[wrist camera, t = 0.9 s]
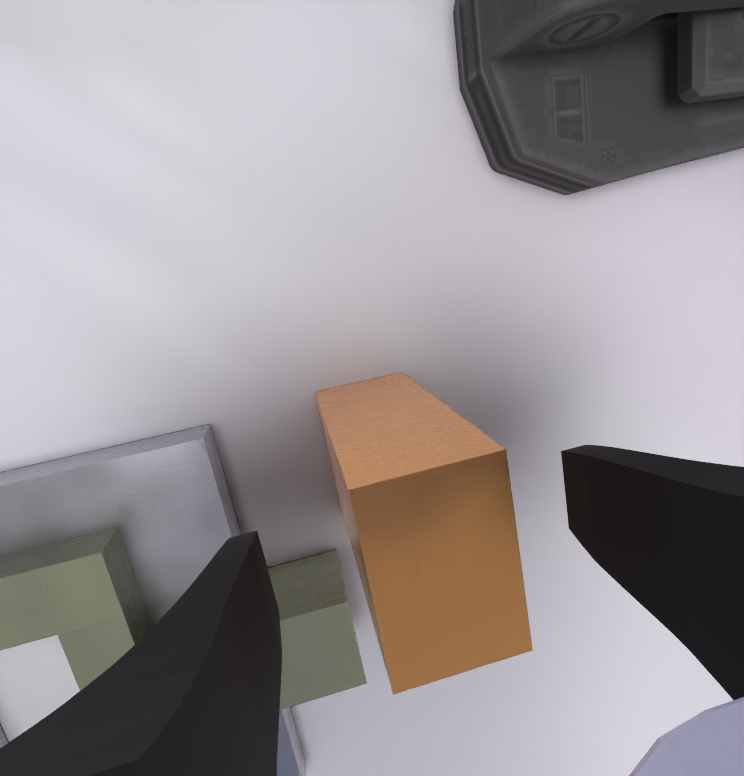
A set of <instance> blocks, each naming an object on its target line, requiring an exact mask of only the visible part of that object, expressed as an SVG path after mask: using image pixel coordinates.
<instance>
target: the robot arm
mask: <svg viewBox="0 0 744 776" xmlns="http://www.w3.org/2000/svg"><path fill="white" fill-rule="evenodd" d="M561 454H562V464H563V473H564V483H565V493H566V503H567V513H568V523H569V529H570V530H571V531H572V533H573V534H574V535H575V537H576V538H577V539H578V540H579V542H580V543H581V544H582V546H583V547H584V548H585V549H586V550H587V552H588V553H589V554H590V555H591V556H592V558H593V559H594V560H595V561H596V562H597V563H598V564H599V565H600V566H601V567H602V568H603V569H604V570H605V571H606V572H607V573H608V574H609V575H610V576H611V577H613V578H614V579H615V580H616V581H617V582H618V583H619V584H620V585H621V586H622V587H623V588H624V589H625V590H626V591H627V592H629V593H630V594H631V595H632V596H633V597H634V598H635V599H636V600H637V601H638V602H639V603H640V604H642V605H643V606H644V607H645V608H646V609H647V610H648V611H649V612H650V613H651V614H652V615H653V616H655V617H656V618H657V619H658V620H659V621H660V622H661V623H662V624H663V625H664V626H665V627H666V628H667V629H669V630H670V631H671V632H672V633H673V634H674V635H675V636H676V637H677V638H678V639H679V640H680V641H681V642H682V643H683V644H684V645H685V646H686V647H687V648H688V649H689V650H690V651H691V652H692V654H693V655H694V656H695V657H696V658H697V659H698V660H699V661H700V663H701V664H702V665H703V666H704V667H705V668H706V669H707V670H708V672H709V673H710V674H711V675H712V676H713V677H714V678H715V679H716V680H717V682H718V683H719V684H720V685H721V686H722V687H723V688H724V689H725V691H726V692H727V693H728V694H729V695H730V696H731V698H732V699H733V700H734V701H731V702H728V703H725V704H722V705H719V706H716V707H713V708H711V709H708V710H705V711H703V712H701V713H700V714H698V715H696V716H695V717H693V718H691V719H690V720H688V721H686V722H685V723H683V724H681V725H679V726H678V727H676V728H674V729H673V730H671V731H669V732H668V733H666V734H664V735H663V736H661V737H659V738H658V739H657V740H656V741H655V743H654V744H653V745H652V747H651V748H650V749H649V751H648V752H647V753H646V754H645V756H644V757H643V758H642V760H641V761H640V762H639V763H638V765H637V766H636V767H635V769H634V770H633V771H632V773H631V774H630V775H629V776H744V467H738V466H729V465H722V464H714V463H707V462H699V461H693V460H686V459H680V458H674V457H667V456H662V455H656V454H650V453H644V452H638V451H632V450H626V449H620V448H613V447H606V446H596V445H583V446H580V447H576V448H572V449H568V450H564V451H561ZM281 671H282V642H281V629H280V617H279V609H278V605H277V602H276V598H275V594H274V591H273V587H272V583H271V580H270V576H269V572H268V569H267V565H266V561H265V558H264V554H263V551H262V547H261V543H260V540H259V536H258V532H257V531H254V532H250V533H246V534H243V535H239V536H235V537H231V538H229V539H228V540H227V541H226V542H225V543H224V544H223V545H222V547H221V548H220V549H219V550H218V552H217V553H216V554H215V556H214V557H213V558H212V559H211V561H210V562H209V563H208V564H207V566H206V567H205V568H204V569H203V571H202V572H201V573H200V574H199V576H198V577H197V578H196V579H195V581H194V582H193V583H192V584H191V586H190V587H189V588H188V589H187V590H186V592H185V593H184V594H183V595H182V596H181V597H180V598H179V599H178V600H177V602H176V603H175V604H174V605H173V606H172V607H171V608H170V609H169V610H168V612H167V613H166V614H165V615H164V616H163V617H162V618H161V619H160V620H159V622H158V623H157V624H156V625H155V626H154V627H153V628H152V629H151V630H150V631H149V632H148V633H147V634H146V635H145V636H144V637H143V638H142V639H141V640H140V641H138V642H137V643H136V644H135V645H134V646H133V647H132V648H131V649H130V650H129V651H128V652H126V653H125V654H124V655H123V656H122V657H121V658H120V659H119V660H118V661H117V662H115V663H114V664H113V665H112V666H111V667H110V668H108V669H107V670H106V671H105V672H103V673H102V674H101V675H100V676H98V677H97V678H96V679H95V680H93V681H92V682H91V683H90V684H88V685H87V686H86V687H85V688H83V689H82V690H81V691H80V692H78V693H77V694H76V695H75V696H73V697H72V698H71V699H70V700H68V701H67V702H66V703H65V704H63V705H62V706H60V707H59V708H58V709H56V710H55V711H54V712H52V713H51V714H49V715H48V716H47V717H45V718H44V719H42V720H41V721H40V722H38V723H37V724H35V725H34V726H33V727H31V728H30V729H28V730H27V731H25V732H24V733H22V734H21V735H19V736H18V737H16V738H15V739H13V740H12V741H10V742H9V743H7V744H6V745H4V746H3V747H2V748H0V776H277V750H278V731H279V711H280V692H281Z"/></svg>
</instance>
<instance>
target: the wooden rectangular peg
mask: <svg viewBox="0 0 744 776" xmlns="http://www.w3.org/2000/svg"><path fill="white" fill-rule="evenodd" d="M315 393H316V398H317V402H318V407H319V411H320V416H321V420H322V425H323V429H324V433H325V438H326V442H327V447H328V451H329V456H330V460H331V465H332V469H333V473H334V478H335V482H336V487H337V491H338V496H339V500H340V504H341V509H342V513H343V517H344V521H345V524H346V528H347V531H348V535H349V538H350V542H351V546H352V549H353V553H354V556H355V560H356V563H357V567H358V570H359V574H360V578H361V581H362V585H363V588H364V592H365V595H366V599H367V602H368V606H369V610H370V613H371V617H372V620H373V624H374V627H375V631H376V635H377V638H378V642H379V645H380V649H381V652H382V656H383V659H384V663H385V667H386V670H387V674H388V677H389V681H390V684H391V688H392V691H393V694H396V693H399V692H402V691H405V690H408V689H412V688H415V687H418V686H421V685H424V684H427V683H431V682H434V681H437V680H440V679H443V678H446V677H449V676H453V675H456V674H459V673H462V672H465V671H468V670H472V669H475V668H478V667H481V666H484V665H487V664H490V663H494V662H497V661H500V660H503V659H506V658H509V657H512V656H516V655H519V654H522V653H525V652H528V651H531V650H532V642H531V635H530V627H529V620H528V612H527V605H526V597H525V590H524V582H523V574H522V567H521V559H520V552H519V544H518V537H517V529H516V522H515V514H514V507H513V499H512V492H511V484H510V477H509V469H508V462H507V454H506V449H505V448H503V447H502V446H501V445H499V444H498V443H497V442H495V441H494V440H493V439H491V438H490V437H489V436H487V435H486V434H485V433H483V432H482V431H481V430H479V429H478V428H477V427H475V426H474V425H473V424H471V423H470V422H469V421H467V420H466V419H465V418H463V417H462V416H461V415H459V414H458V413H457V412H455V411H454V410H453V409H451V408H450V407H449V406H447V405H446V404H445V403H443V402H442V401H441V400H439V399H438V398H437V397H435V396H434V395H432V394H431V393H430V392H428V391H427V390H426V389H424V388H423V387H422V386H420V385H419V384H418V383H416V382H415V381H414V380H412V379H411V378H410V377H408V376H407V375H406V374H404V373H403V372H400V373H396V374H392V375H387V376H383V377H379V378H374V379H370V380H366V381H361V382H357V383H352V384H348V385H344V386H339V387H335V388H331V389H326V390H322V391H318V392H315Z"/></svg>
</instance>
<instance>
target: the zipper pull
mask: <svg viewBox="0 0 744 776" xmlns="http://www.w3.org/2000/svg"><path fill="white" fill-rule="evenodd" d="M454 22H455V33H456V44H457V55H458V67H459V78H460V89H461V92H462V95H463V97H464V100H465V102H466V105H467V107H468V110H469V112H470V115H471V117H472V120H473V123H474V125H475V128H476V130H477V133H478V135H479V138H480V140H481V143H482V145H483V148H484V150H485V153H486V155H487V158H488V160H489V163H490V165H491V167H492V169H493V170H495V171H496V172H499V173H502V174H505V175H508V176H510V177H513V178H516V179H519V180H522V181H525V182H528V183H531V184H534V185H537V186H540V187H543V188H546V189H549V190H552V191H555V192H558V193H561V194H563V195H568V194H572V193H576V192H579V191H583V190H586V189H590V188H594V187H597V186H601V185H604V184H608V183H611V182H615V181H618V180H622V179H625V178H629V177H633V176H636V175H640V174H643V173H647V172H651V171H654V170H658V169H662V168H666V167H670V166H674V165H678V164H682V163H685V162H689V161H693V160H697V159H701V158H705V157H709V156H713V155H717V154H720V153H724V152H728V151H732V150H736V149H740V148H744V0H456V2H455V7H454Z"/></svg>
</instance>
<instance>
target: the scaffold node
mask: <svg viewBox="0 0 744 776" xmlns="http://www.w3.org/2000/svg"><path fill="white" fill-rule="evenodd" d="M239 535H241V533H240V529H239V526H238V522H237V519H236V515H235V512H234V508H233V504H232V501H231V497H230V494H229V490H228V487H227V483H226V480H225V476H224V473H223V469H222V466H221V462H220V459H219V455H218V451H217V448H216V444H215V441H214V437H213V434H212V430H211V427H210V424H209V425H204V426H200V427H196V428H191V429H187V430H183V431H178V432H174V433H170V434H165V435H161V436H157V437H152V438H148V439H144V440H139V441H135V442H131V443H126V444H122V445H118V446H113V447H109V448H105V449H100V450H96V451H92V452H87V453H83V454H79V455H74V456H70V457H66V458H61V459H57V460H53V461H48V462H44V463H40V464H35V465H31V466H27V467H22V468H18V469H14V470H9V471H5V472H1V473H0V650H3V649H7V648H10V647H14V646H18V645H21V644H25V643H28V642H32V641H36V640H39V639H43V638H47V637H50V636H54V635H58V637H59V639H60V642H61V644H62V647H63V649H64V652H65V654H66V657H67V659H68V662H69V664H70V667H71V669H72V672H73V674H74V676H75V679H76V681H77V684H78V686H79V689H80V691H81V690H82V689H83V688H85V687H86V686H87V685H88V684H90V683H91V682H92V681H93V680H95V679H96V678H97V677H98V676H100V675H101V674H102V673H103V672H105V671H106V670H107V669H108V668H110V667H111V666H112V665H113V664H114V663H115V662H117V661H118V660H119V659H120V658H121V657H122V656H123V655H124V654H125V653H126V652H128V651H129V650H130V649H131V648H132V647H133V646H134V645H135V644H136V643H137V642H138V641H140V640H141V639H142V638H143V637H144V636H145V635H146V634H147V633H148V632H149V631H150V630H151V629H152V628H153V627H154V626H155V625H156V624H157V623H158V622H159V620H160V619H161V618H162V617H163V616H164V615H165V614H166V613H167V612H168V610H169V609H170V608H171V607H172V606H173V605H174V604H175V603H176V602H177V600H178V599H179V598H180V597H181V596H182V595H183V594H184V593H185V592H186V590H187V589H188V588H189V587H190V586H191V584H192V583H193V582H194V581H195V579H196V578H197V577H198V576H199V574H200V573H201V572H202V571H203V569H204V568H205V567H206V566H207V564H208V563H209V562H210V561H211V559H212V558H213V557H214V556H215V554H216V553H217V552H218V550H219V549H220V548H221V547H222V545H223V544H224V543H225V542H226V541H227V540H228V539H229V538H231V537H235V536H239ZM267 569H268V572H269V576H270V580H271V583H272V587H273V591H274V594H275V598H276V602H277V605H278V609H279V617H280V629H281V642H282V671H281V692H280V711H279V731H278V750H277V776H306V765H305V759H304V755H303V752H302V748H301V745H300V741H299V738H298V734H297V731H296V727H295V724H294V720H293V717H292V713H291V710H290V707H292V706H295V705H298V704H301V703H305V702H308V701H311V700H314V699H318V698H321V697H324V696H327V695H330V694H334V693H337V692H340V691H343V690H346V689H350V688H353V687H356V686H359V685H363V684H366V678H365V674H364V669H363V665H362V660H361V656H360V651H359V647H358V642H357V638H356V633H355V629H354V624H353V620H352V615H351V611H350V607H349V603H348V598H347V594H346V590H345V585H344V581H343V577H342V573H341V568H340V564H339V560H338V555H337V551H336V550H333V551H329V552H325V553H322V554H318V555H314V556H311V557H307V558H303V559H300V560H296V561H292V562H289V563H285V564H281V565H278V566H274V567H270V568H267ZM7 743H8V741H7V739H6V737H5V735H4V733H3V730H2V728H1V726H0V748H2V747H3V746H4V745H6V744H7Z"/></svg>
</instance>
